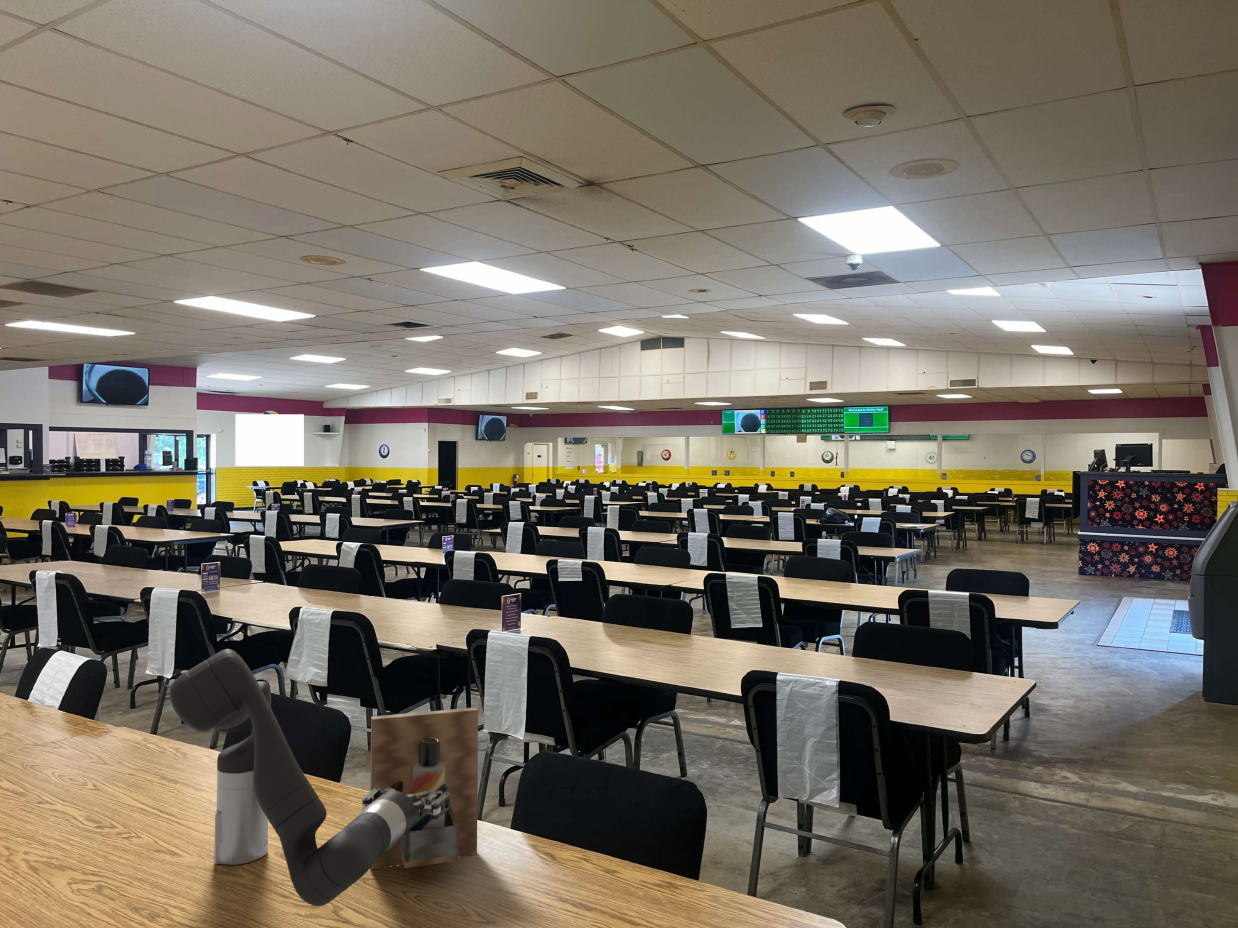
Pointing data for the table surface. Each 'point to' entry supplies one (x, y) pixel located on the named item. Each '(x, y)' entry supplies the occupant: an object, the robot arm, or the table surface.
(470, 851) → the bracket
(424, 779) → the lotion bottle
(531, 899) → the table surface
